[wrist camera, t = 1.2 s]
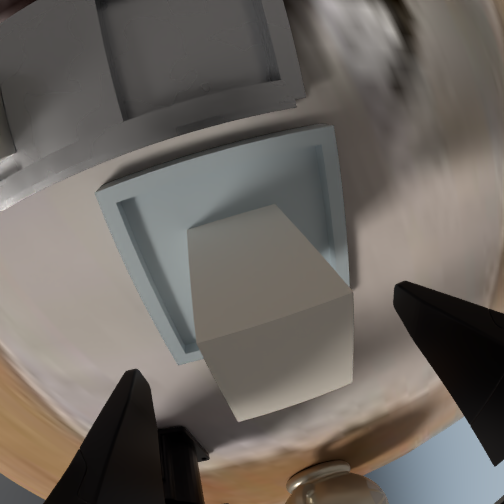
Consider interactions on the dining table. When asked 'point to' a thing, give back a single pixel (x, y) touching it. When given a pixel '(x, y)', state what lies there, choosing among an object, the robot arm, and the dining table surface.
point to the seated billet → (5, 136)
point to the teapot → (333, 486)
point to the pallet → (133, 78)
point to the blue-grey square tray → (221, 214)
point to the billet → (268, 312)
